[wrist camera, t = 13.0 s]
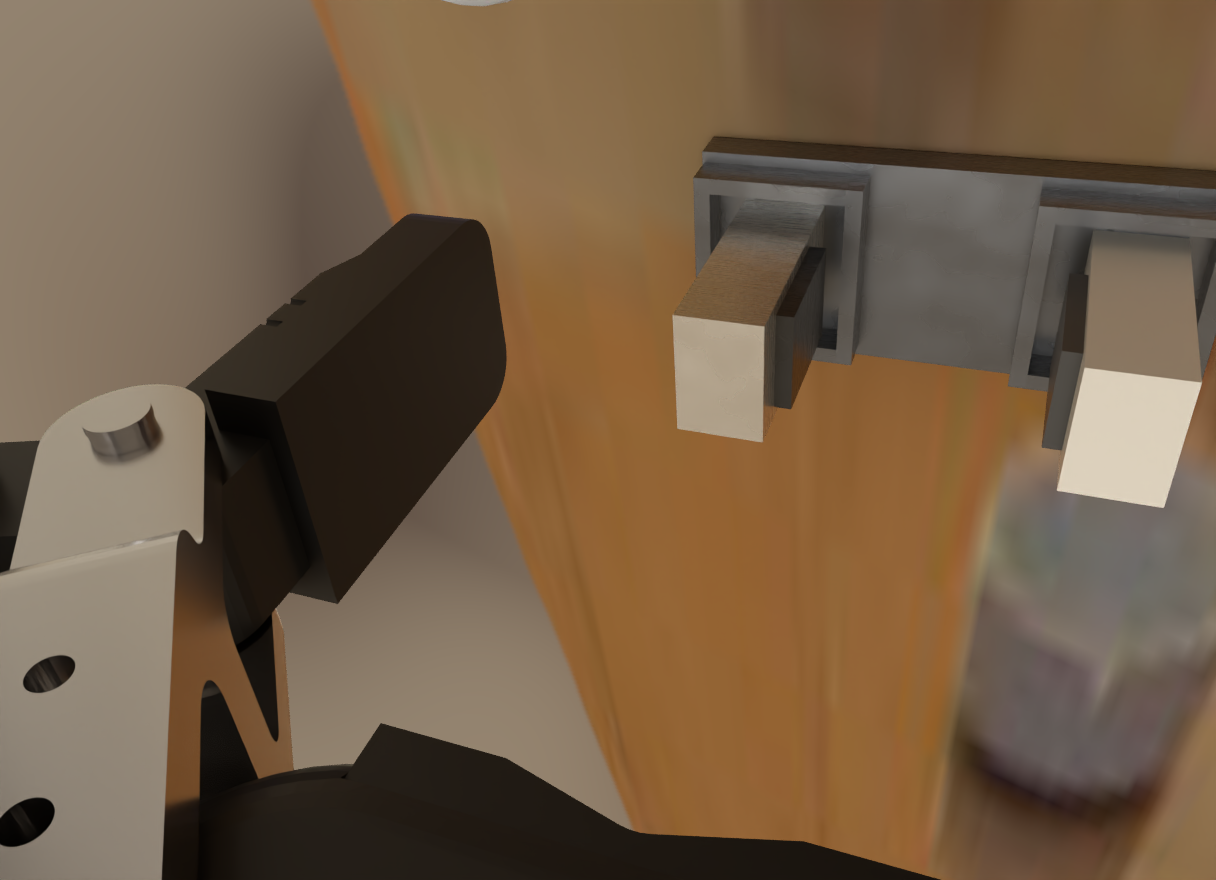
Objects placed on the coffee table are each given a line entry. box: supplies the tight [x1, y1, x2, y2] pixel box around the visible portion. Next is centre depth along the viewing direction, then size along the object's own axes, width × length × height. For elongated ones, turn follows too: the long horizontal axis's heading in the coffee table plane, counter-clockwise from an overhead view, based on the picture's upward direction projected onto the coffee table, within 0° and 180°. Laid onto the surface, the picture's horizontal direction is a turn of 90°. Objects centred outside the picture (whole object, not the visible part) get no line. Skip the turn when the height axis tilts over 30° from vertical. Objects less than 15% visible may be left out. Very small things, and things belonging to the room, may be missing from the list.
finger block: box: [1042, 230, 1202, 508], centre depth 35 cm, size 4×4×9 cm
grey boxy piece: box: [673, 137, 1216, 442], centre depth 38 cm, size 18×8×10 cm, turn 94°
